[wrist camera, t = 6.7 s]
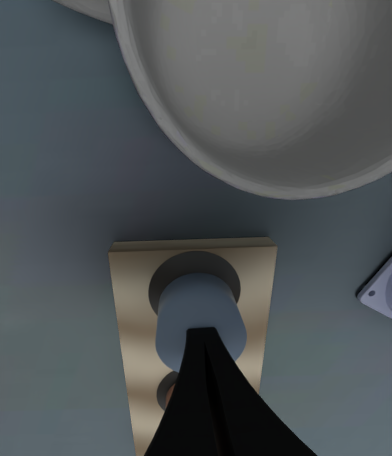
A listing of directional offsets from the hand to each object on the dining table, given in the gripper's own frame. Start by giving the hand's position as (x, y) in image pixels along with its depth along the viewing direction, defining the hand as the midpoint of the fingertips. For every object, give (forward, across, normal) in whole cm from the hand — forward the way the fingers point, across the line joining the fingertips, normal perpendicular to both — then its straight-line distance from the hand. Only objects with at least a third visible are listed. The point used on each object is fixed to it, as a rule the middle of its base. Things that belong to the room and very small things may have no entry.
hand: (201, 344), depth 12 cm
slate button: (+3, 0, 0) cm, 3 cm away
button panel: (+6, 0, +9) cm, 11 cm away
